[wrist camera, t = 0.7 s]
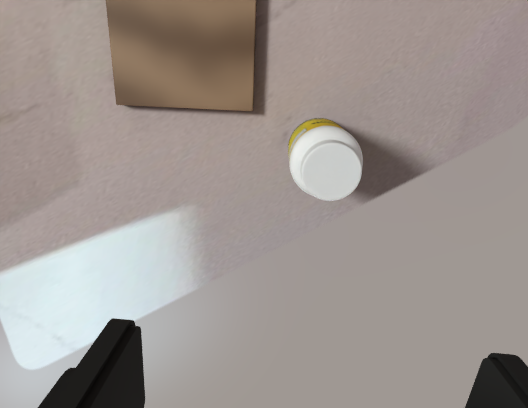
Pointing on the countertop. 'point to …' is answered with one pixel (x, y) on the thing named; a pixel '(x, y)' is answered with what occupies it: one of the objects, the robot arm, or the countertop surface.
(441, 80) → the countertop surface
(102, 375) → the robot arm
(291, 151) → the supplement bottle
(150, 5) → the walnut board
